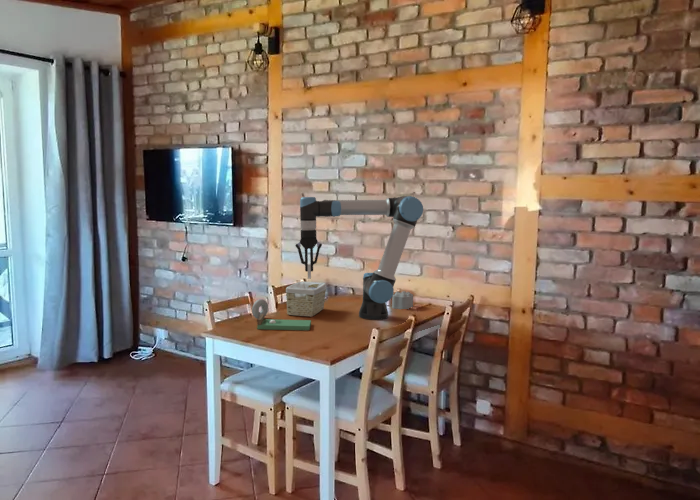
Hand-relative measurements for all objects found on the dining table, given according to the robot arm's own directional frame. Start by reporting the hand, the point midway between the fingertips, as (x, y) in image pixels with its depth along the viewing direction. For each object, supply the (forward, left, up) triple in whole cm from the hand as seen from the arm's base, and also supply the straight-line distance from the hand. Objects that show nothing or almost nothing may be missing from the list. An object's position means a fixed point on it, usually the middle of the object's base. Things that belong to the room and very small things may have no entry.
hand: (309, 278), depth 277 cm
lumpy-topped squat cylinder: (-50, -44, -23) cm, 70 cm away
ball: (+16, +8, -21) cm, 27 cm away
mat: (+11, +8, -22) cm, 26 cm away
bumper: (+22, +8, -20) cm, 31 cm away
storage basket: (+3, -25, -23) cm, 34 cm away
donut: (+25, -7, -23) cm, 34 cm away
